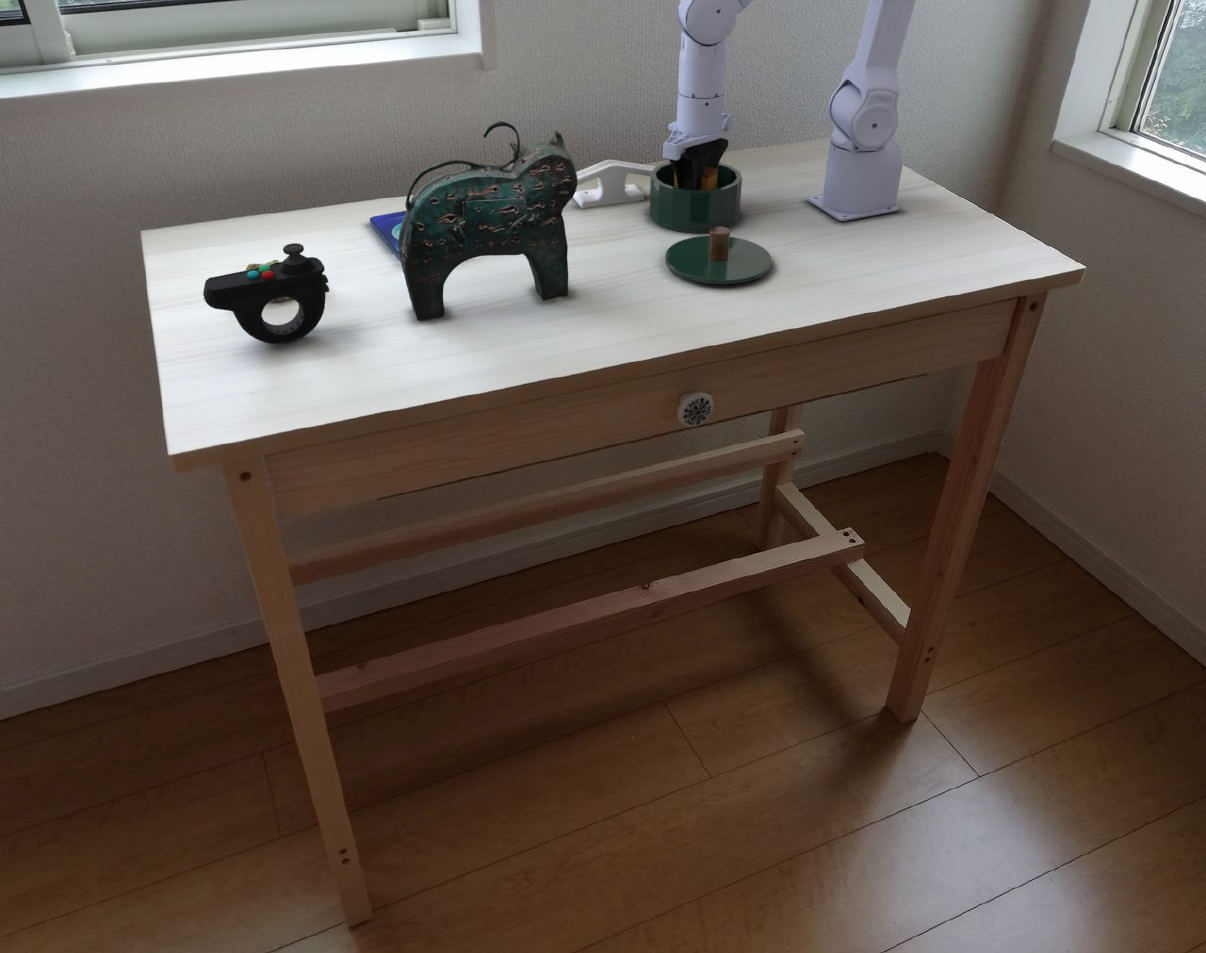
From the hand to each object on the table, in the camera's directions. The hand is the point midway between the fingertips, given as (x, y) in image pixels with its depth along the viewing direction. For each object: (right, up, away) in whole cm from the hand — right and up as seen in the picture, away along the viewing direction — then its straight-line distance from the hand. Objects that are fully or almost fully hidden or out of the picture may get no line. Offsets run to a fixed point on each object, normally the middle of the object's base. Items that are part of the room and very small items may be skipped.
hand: (694, 197), depth 132 cm
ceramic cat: (-24, -18, -19) cm, 35 cm away
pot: (0, -2, +1) cm, 2 cm away
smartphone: (-36, -7, -5) cm, 37 cm away
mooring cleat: (-11, +1, +6) cm, 13 cm away
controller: (-47, -23, -26) cm, 58 cm away
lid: (+2, -11, -11) cm, 16 cm away
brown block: (0, -1, +1) cm, 1 cm away
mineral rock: (-51, -15, -16) cm, 56 cm away
